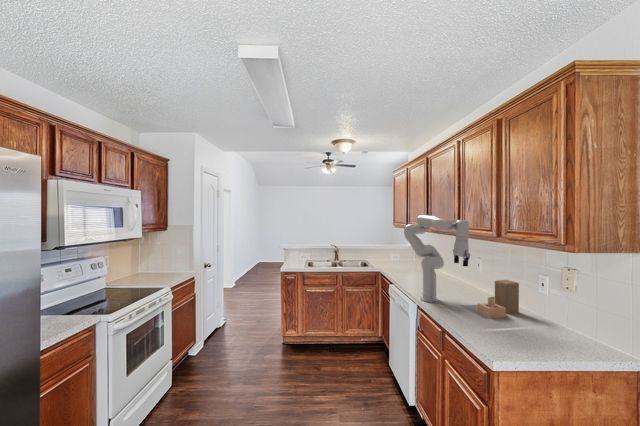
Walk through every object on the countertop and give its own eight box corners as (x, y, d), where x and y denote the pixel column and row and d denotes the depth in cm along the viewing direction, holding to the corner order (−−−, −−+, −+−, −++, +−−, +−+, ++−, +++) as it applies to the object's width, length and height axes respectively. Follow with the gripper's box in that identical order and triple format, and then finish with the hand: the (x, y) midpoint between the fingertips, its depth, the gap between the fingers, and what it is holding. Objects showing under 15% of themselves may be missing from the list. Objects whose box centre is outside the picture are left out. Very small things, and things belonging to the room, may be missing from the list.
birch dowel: (486, 312, 192) (486, 296, 192) (491, 311, 192) (491, 295, 192) (490, 314, 188) (490, 297, 188) (495, 313, 189) (495, 297, 189)
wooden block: (505, 309, 204) (505, 279, 204) (519, 314, 194) (519, 282, 194) (493, 310, 201) (494, 280, 201) (507, 315, 191) (507, 283, 191)
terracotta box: (477, 312, 195) (477, 303, 195) (493, 311, 196) (493, 302, 196) (489, 318, 184) (489, 308, 184) (505, 317, 185) (506, 308, 185)
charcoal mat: (459, 306, 209) (459, 305, 209) (482, 305, 211) (482, 304, 211) (485, 320, 183) (485, 318, 183) (511, 318, 185) (511, 317, 185)
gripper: (449, 237, 210) (448, 261, 210) (464, 240, 192) (463, 267, 193) (459, 237, 211) (458, 261, 212) (475, 240, 194) (474, 267, 194)
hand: (460, 264), depth 202 cm, fingers open, 9 cm apart
